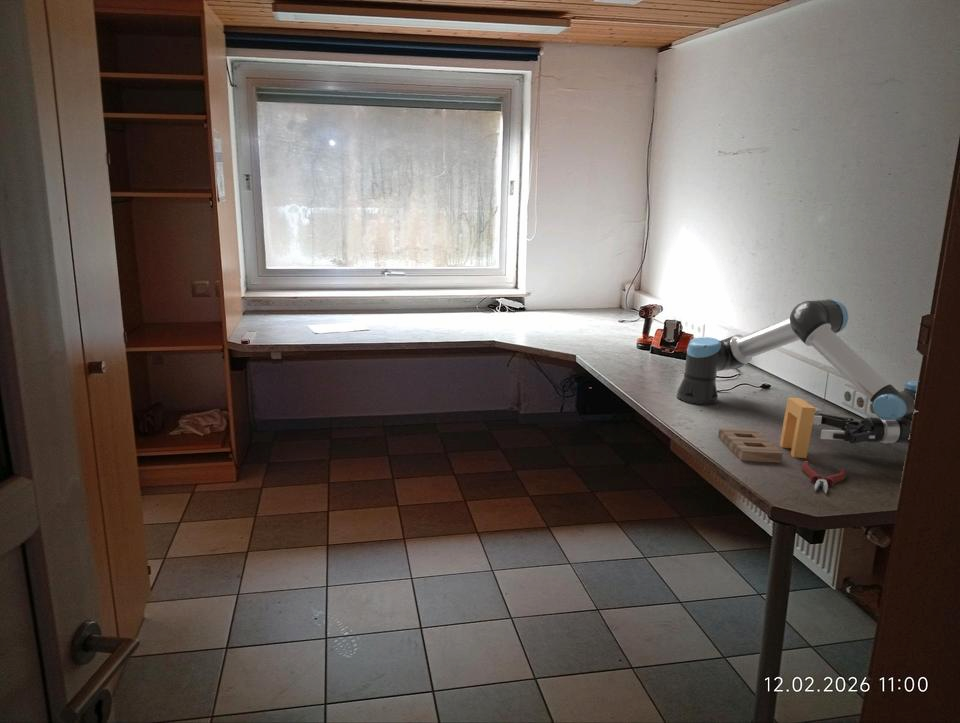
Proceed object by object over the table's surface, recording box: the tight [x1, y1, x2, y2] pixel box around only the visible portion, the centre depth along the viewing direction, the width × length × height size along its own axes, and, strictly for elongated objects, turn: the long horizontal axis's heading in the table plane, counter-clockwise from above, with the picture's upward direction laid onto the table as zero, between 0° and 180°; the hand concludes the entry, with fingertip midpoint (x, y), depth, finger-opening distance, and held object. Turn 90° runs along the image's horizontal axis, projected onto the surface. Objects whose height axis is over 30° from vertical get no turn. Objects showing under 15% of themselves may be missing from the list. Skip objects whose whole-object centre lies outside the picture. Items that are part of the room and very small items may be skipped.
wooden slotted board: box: [717, 427, 783, 464], centre depth 214 cm, size 20×12×3 cm, turn 0°
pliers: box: [801, 460, 846, 494], centre depth 192 cm, size 12×20×3 cm, turn 152°
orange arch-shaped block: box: [779, 397, 817, 459], centre depth 212 cm, size 10×4×16 cm, turn 0°
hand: (810, 426), depth 211 cm, fingers open, 13 cm apart
